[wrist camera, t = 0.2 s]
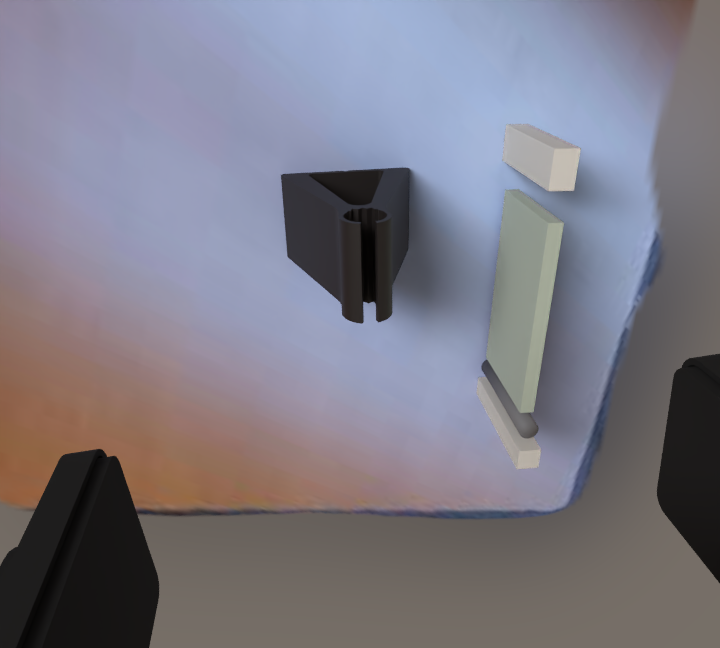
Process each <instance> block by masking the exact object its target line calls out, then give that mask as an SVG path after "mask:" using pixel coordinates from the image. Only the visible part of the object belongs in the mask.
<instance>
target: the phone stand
mask: <svg viewBox="0 0 720 648" xmlns="http://www.w3.org/2000/svg"><path fill="white" fill-rule="evenodd" d="M281 180H282V193H283V205H284V217H285V230H286V242H287V255H288V258H290V259H291V260H292V261H293V262H294V263H295V264H297V265H298V266H299V267H300V268H301V269H302V270H304V271H305V272H306V273H307V274H308V275H309V276H311V277H312V278H313V279H314V280H315V281H316V282H318V283H319V284H320V285H321V286H322V287H323V288H325V289H326V290H327V291H328V292H329V293H330V294H332V295H333V296H334V297H335V298H336V299H337V300H338V301H339V302H340V303H341V304H342V315H343V316H344V317H345V318H346V319H347V320H349V321H352V322H356V323H363V302H367V303H370V302H375V303H376V320H377V321H378V322H381V321H384V320H386V319H388V318H389V317H390V316H391V315H392V285H393V283H394V280H395V278H396V276H397V274H398V271H399V269H400V267H401V265H402V262H403V260H404V258H405V255H406V253H407V251H408V237H409V168H388V169H369V170H351V171H332V172H313V173H295V174H283V175H281Z"/></svg>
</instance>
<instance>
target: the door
mask: <svg viewBox="0 0 720 648" xmlns="http://www.w3.org/2000/svg"><path fill="white" fill-rule="evenodd" d="M563 226H564V223H563V222H562V221H561V220H559V219H558V218H556V217H555V216H554V215H552V214H551V213H550V212H548V211H547V210H546V209H544V208H543V207H542V206H540V205H539V204H538V203H536V202H535V201H534V200H532V199H531V198H530V197H528V196H527V195H525V194H524V193H523V192H521V191H520V190H519V189H512V190H505V196H504V205H503V214H502V222H501V231H500V240H499V249H498V257H497V266H496V275H495V284H494V292H493V301H492V310H491V319H490V327H489V336H488V345H487V353H486V358H487V360H486V361H484V362H483V364H482V370H483V372H484V374H485V376H486V377H487V379H488V381H489V383H490V384H491V386H492V388H493V389H494V391H495V393H496V395H497V396H498V398H499V400H500V401H501V403H502V405H503V407H504V408H505V410H506V412H507V414H508V415H509V417H510V419H511V420H512V422H513V424H514V426H515V427H516V429H517V431H518V432H519V434H520V436H521V437H523V438H531V437H533V436H535V435H536V433H537V432H538V426H537V424H536V422H535V421H534V419H533V418H532V416H531V415H530V413H529V412H534V406H535V400H536V393H537V387H538V381H539V375H540V369H541V362H542V356H543V350H544V344H545V337H546V331H547V325H548V319H549V313H550V306H551V300H552V294H553V288H554V281H555V275H556V269H557V263H558V257H559V250H560V244H561V238H562V232H563Z"/></svg>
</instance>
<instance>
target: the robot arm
mask: <svg viewBox="0 0 720 648" xmlns="http://www.w3.org/2000/svg"><path fill="white" fill-rule="evenodd" d="M657 497H658V501H659V504H660V506H661V509H662V510H663V512H664V513H665V515H666V516H667V517H668V519H669V520H670V521H671V522H672V524H673V525H674V526H675V527H676V528H677V530H678V531H679V532H680V534H681V535H682V536H683V537H684V539H685V540H686V541H687V542H688V544H689V545H690V546H691V548H692V549H693V550H694V551H695V553H696V554H697V555H698V556H699V557H700V559H701V560H702V561H703V563H704V564H705V565H706V566H707V568H708V569H709V570H710V571H711V573H712V574H713V575H714V577H715V578H716V579H717V580H718V582H719V583H720V354H715V355H709V356H702V357H696V358H689V359H688V360H686V361H685V362H684V363H683V365H682V368H680V369H678V370H677V371H676V372H675V374H674V379H673V385H672V392H671V399H670V405H669V412H668V419H667V425H666V432H665V439H664V446H663V453H662V459H661V466H660V473H659V480H658V487H657ZM158 598H159V581H158V575H157V572H156V569H155V566H154V563H153V560H152V557H151V554H150V551H149V549H148V546H147V542H146V540H145V536H144V533H143V530H142V527H141V524H140V521H139V519H138V515H137V513H136V510H135V507H134V504H133V501H132V498H131V495H130V492H129V489H128V486H127V483H126V480H125V477H124V474H123V471H122V468H121V465H120V462H119V460H118V458H117V457H115V456H110V457H107V455H106V453H105V452H104V451H103V450H101V449H96V450H89V451H83V452H76V453H70V454H65V455H63V456H62V457H61V458H60V460H59V462H58V464H57V466H56V468H55V470H54V472H53V474H52V476H51V478H50V480H49V483H48V485H47V487H46V489H45V491H44V493H43V495H42V497H41V499H40V501H39V503H38V506H37V508H36V510H35V512H34V514H33V516H32V518H31V520H30V522H29V524H28V526H27V528H26V531H25V533H24V535H23V537H22V539H21V541H20V543H19V545H18V547H15V548H14V549H12V550H11V551H9V553H8V554H7V556H6V557H5V559H4V560H3V562H2V564H1V566H0V648H149V645H150V640H151V635H152V630H153V625H154V619H155V614H156V609H157V604H158Z"/></svg>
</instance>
